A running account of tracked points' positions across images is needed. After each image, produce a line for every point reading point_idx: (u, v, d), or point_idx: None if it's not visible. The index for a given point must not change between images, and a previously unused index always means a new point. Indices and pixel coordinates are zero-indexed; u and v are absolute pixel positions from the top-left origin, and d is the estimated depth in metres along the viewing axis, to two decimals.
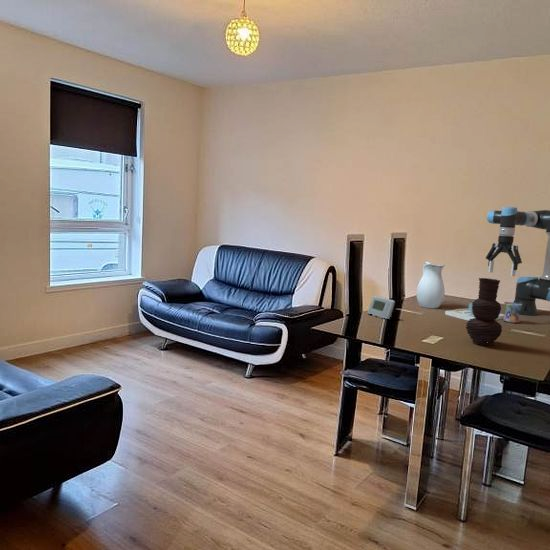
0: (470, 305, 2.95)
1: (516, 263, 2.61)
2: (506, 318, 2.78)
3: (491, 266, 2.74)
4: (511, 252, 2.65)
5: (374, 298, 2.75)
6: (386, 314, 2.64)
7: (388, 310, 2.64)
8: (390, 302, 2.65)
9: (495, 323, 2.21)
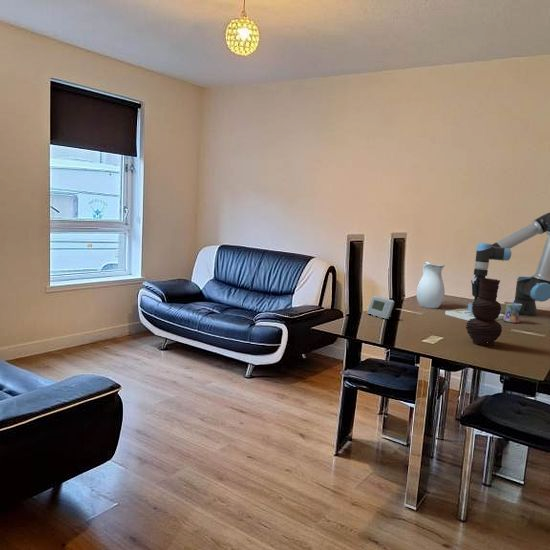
0: (469, 305, 2.95)
1: (474, 296, 2.96)
2: (506, 318, 2.78)
3: None
4: (477, 285, 2.94)
5: (374, 298, 2.75)
6: (385, 314, 2.64)
7: (387, 310, 2.64)
8: (389, 302, 2.65)
9: (495, 323, 2.21)
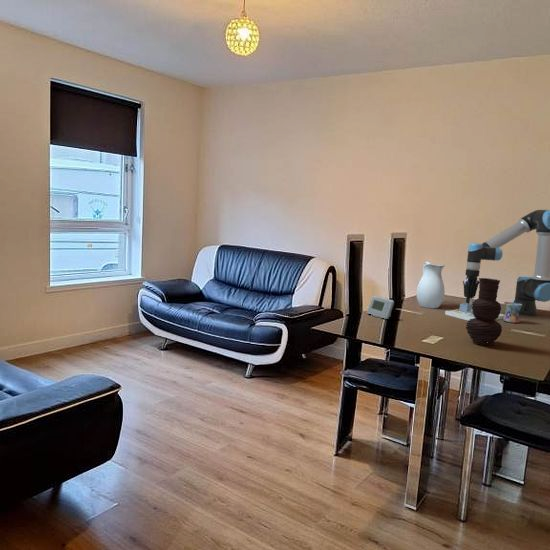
0: (461, 306, 2.91)
1: None
2: (506, 318, 2.78)
3: (468, 302, 2.92)
4: (469, 286, 2.89)
5: (373, 298, 2.75)
6: (385, 314, 2.64)
7: (387, 310, 2.64)
8: (389, 302, 2.65)
9: (495, 323, 2.21)
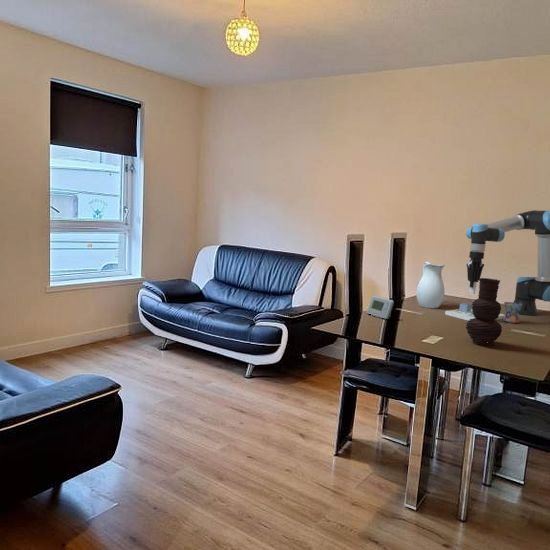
0: (461, 306, 2.91)
1: (470, 281, 2.75)
2: (506, 318, 2.78)
3: None
4: (473, 269, 2.73)
5: (373, 298, 2.75)
6: (385, 314, 2.64)
7: (387, 310, 2.64)
8: (389, 302, 2.65)
9: (495, 323, 2.21)
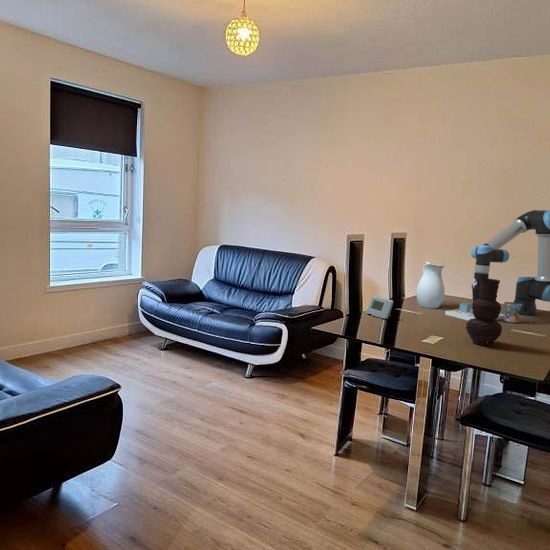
0: (461, 306, 2.91)
1: None
2: (506, 318, 2.78)
3: None
4: (478, 290, 2.78)
5: (373, 298, 2.75)
6: (384, 314, 2.64)
7: (386, 310, 2.64)
8: (388, 302, 2.65)
9: (495, 323, 2.21)
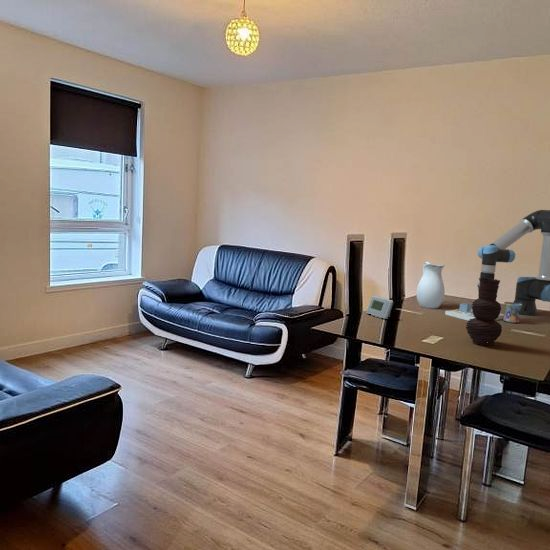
0: (461, 306, 2.91)
1: None
2: (506, 318, 2.78)
3: None
4: None
5: (373, 298, 2.75)
6: (384, 314, 2.65)
7: (386, 310, 2.64)
8: (388, 302, 2.65)
9: (495, 323, 2.21)
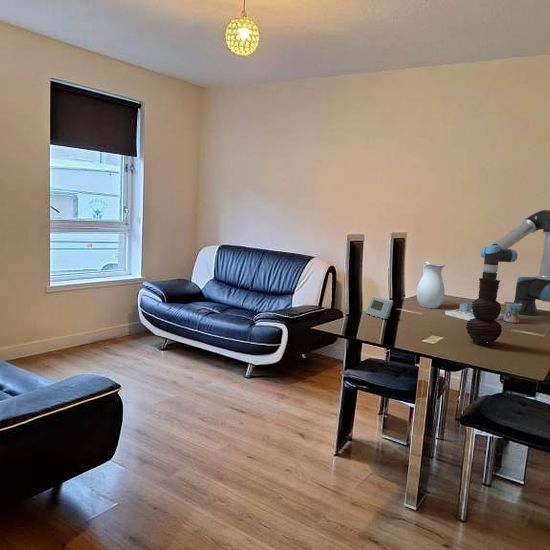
0: (461, 306, 2.91)
1: None
2: (506, 318, 2.78)
3: None
4: None
5: (373, 298, 2.75)
6: (384, 314, 2.65)
7: (386, 310, 2.64)
8: (388, 302, 2.65)
9: (495, 323, 2.21)
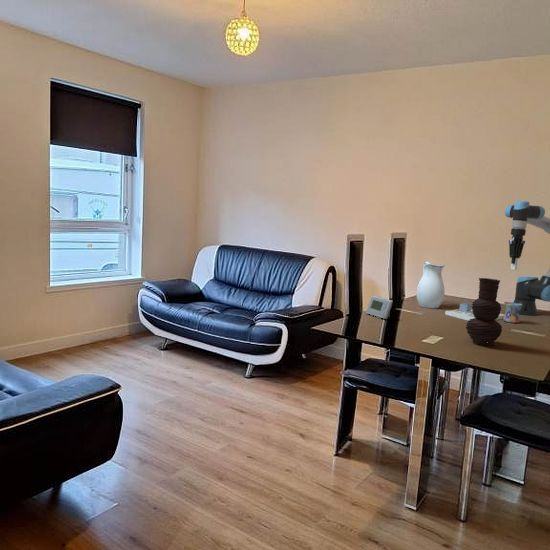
0: (461, 306, 2.91)
1: (512, 257, 2.82)
2: (506, 318, 2.78)
3: None
4: None
5: (372, 298, 2.75)
6: (383, 314, 2.65)
7: (385, 310, 2.64)
8: (387, 302, 2.65)
9: (495, 323, 2.21)
